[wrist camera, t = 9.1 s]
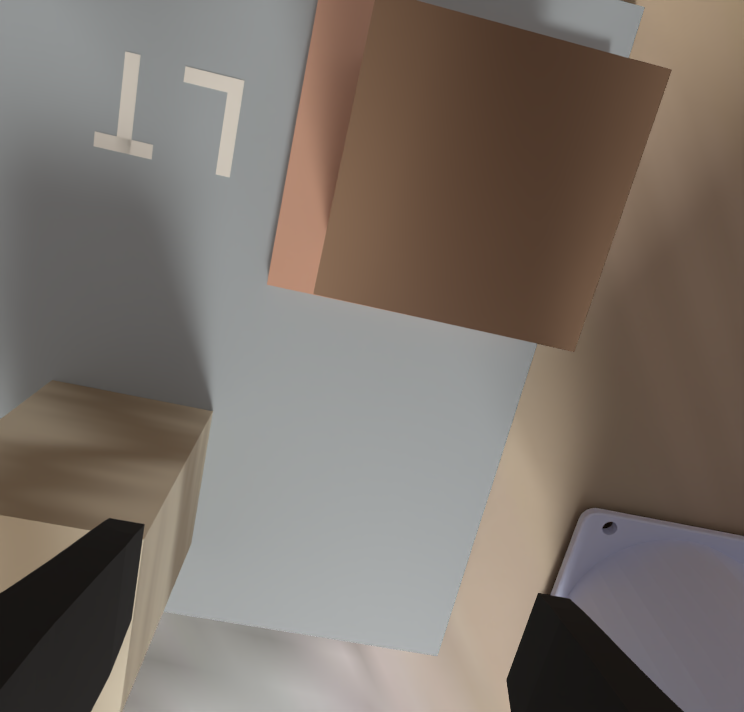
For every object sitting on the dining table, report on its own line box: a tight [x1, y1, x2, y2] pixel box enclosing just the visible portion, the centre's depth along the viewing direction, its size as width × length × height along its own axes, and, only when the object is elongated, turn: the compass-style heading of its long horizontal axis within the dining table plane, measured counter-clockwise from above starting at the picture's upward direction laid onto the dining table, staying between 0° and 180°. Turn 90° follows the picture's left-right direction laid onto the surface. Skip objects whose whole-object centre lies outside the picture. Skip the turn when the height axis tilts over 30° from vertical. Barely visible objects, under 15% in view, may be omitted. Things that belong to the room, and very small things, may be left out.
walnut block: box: [313, 0, 671, 352], centre depth 14 cm, size 5×5×7 cm
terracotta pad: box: [267, 0, 415, 317], centre depth 18 cm, size 8×8×1 cm
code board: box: [0, 0, 645, 656], centre depth 20 cm, size 17×22×1 cm
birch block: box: [0, 380, 213, 712], centre depth 17 cm, size 5×5×7 cm
